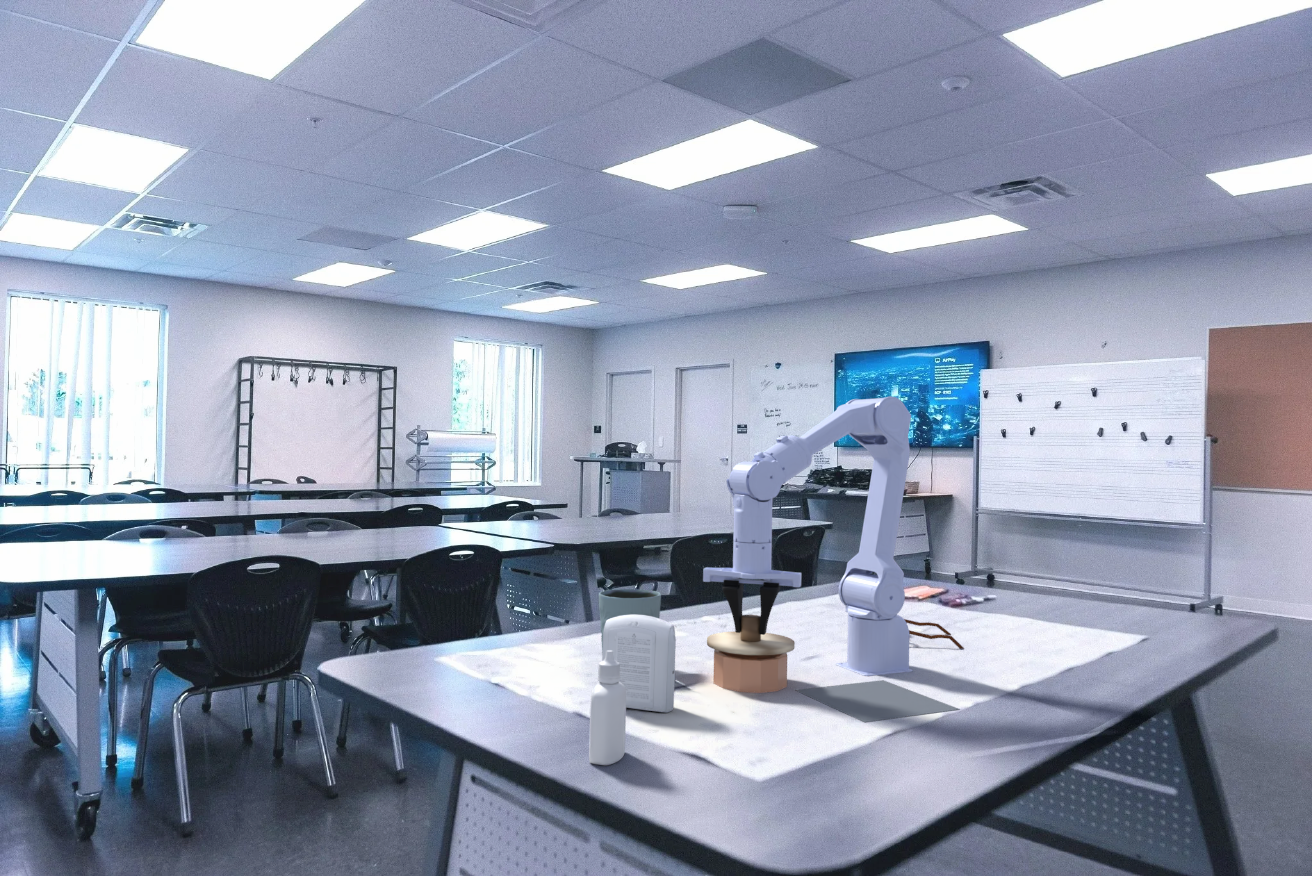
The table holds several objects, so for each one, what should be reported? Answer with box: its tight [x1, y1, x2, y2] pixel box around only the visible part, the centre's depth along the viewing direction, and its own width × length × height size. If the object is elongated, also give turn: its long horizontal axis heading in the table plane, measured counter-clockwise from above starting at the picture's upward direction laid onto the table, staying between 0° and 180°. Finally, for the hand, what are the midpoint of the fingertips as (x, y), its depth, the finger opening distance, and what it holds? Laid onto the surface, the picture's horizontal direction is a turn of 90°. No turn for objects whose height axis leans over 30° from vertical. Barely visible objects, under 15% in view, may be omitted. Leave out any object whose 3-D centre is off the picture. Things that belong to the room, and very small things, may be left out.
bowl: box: [712, 649, 788, 694], centre depth 130 cm, size 11×11×5 cm
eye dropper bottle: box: [588, 650, 627, 766], centre depth 98 cm, size 4×6×12 cm
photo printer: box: [601, 615, 677, 714], centre depth 118 cm, size 10×4×12 cm, turn 72°
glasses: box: [903, 618, 965, 650], centre depth 165 cm, size 13×13×5 cm
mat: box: [794, 679, 961, 723], centre depth 122 cm, size 16×16×1 cm
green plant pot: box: [598, 588, 662, 659], centre depth 139 cm, size 10×10×12 cm
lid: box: [706, 614, 796, 655], centre depth 130 cm, size 13×13×4 cm
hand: (750, 632), depth 130 cm, fingers closed on lid, 3 cm apart
